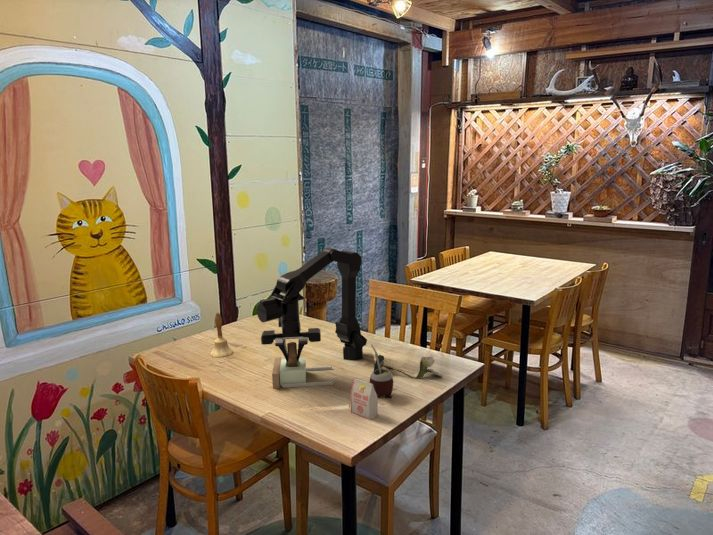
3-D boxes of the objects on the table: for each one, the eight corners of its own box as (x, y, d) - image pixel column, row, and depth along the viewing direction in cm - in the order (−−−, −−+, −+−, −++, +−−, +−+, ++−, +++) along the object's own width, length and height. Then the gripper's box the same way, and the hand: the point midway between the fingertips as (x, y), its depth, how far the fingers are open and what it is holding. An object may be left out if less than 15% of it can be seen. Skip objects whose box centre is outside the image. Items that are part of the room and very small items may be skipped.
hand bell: (225, 358, 190) (221, 317, 186) (205, 356, 192) (201, 315, 189) (237, 350, 197) (233, 310, 194) (218, 348, 200) (215, 308, 197)
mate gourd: (389, 403, 152) (388, 355, 149) (364, 400, 155) (363, 353, 152) (396, 392, 159) (396, 346, 156) (372, 389, 162) (371, 344, 159)
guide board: (335, 371, 176) (334, 354, 175) (336, 387, 163) (336, 370, 162) (276, 374, 175) (275, 357, 173) (273, 391, 162) (272, 373, 161)
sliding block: (306, 371, 174) (305, 357, 173) (305, 384, 164) (304, 369, 163) (282, 372, 173) (281, 358, 172) (280, 385, 163) (279, 371, 162)
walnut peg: (297, 364, 169) (296, 341, 167) (297, 368, 166) (296, 345, 164) (288, 365, 169) (287, 342, 167) (288, 369, 166) (286, 345, 164)
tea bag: (358, 407, 150) (358, 375, 148) (377, 414, 146) (376, 381, 144) (350, 412, 148) (349, 380, 145) (369, 419, 143) (368, 386, 141)
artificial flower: (379, 371, 179) (384, 342, 179) (442, 387, 171) (448, 358, 171) (371, 374, 170) (376, 344, 170) (437, 392, 162) (443, 361, 162)
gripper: (319, 306, 172) (321, 350, 176) (262, 309, 171) (266, 353, 174) (319, 316, 161) (321, 363, 165) (259, 319, 160) (262, 366, 164)
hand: (292, 361), depth 167 cm, fingers closed on walnut peg, 3 cm apart
